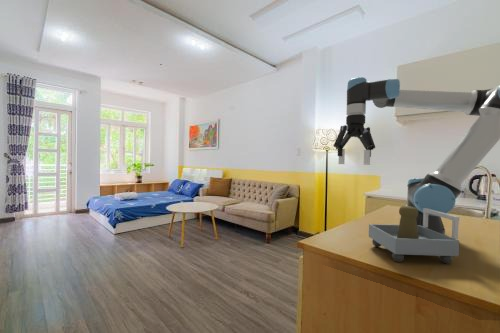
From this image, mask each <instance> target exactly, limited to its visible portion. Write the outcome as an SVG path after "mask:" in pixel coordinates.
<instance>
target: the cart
mask: <svg viewBox="0 0 500 333" xmlns="http://www.w3.org/2000/svg"><path fill="white" fill-rule="evenodd" d="M428 213H430V214H433V215H436V216H440V217H441V218H442V219H443V218H444V219H447V220H450V221H451V222H452V223H451V236H448V235H446V234H445V235H443V234H441V233H438V232H436V231H433V230H431V229H428V228H425V227H428ZM459 223H460V216H457V215H454V214H449V213H447V214H446V213H442V212H439V211H435V210H431V209H428V208H423V226H420V225H417V229H418V237H419V239H407V238H397V235H398V229H399V224H384V223H383V224H382V223H381V224H379V223H378V224H377V223H368V237H369V238H370V239H371V243H372V245H373V246H374V247H375V248H376V247H377V248H378V247H379V248H380V247H381V246H382V247H384V248H385V249H387V250H388V251H389V252H391V257H392V260H394V261H395V262H398V263H400V262H403V261H404V258H405V255H407V256H408V255H409V256H410V255H411V256H437V257H439V260H440V261H441V262H442V263H443V264H450V263H452V262H453V257H459V255H460V240H459V225H460V224H459Z"/></svg>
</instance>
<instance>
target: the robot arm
mask: <svg viewBox="0 0 500 333" xmlns="http://www.w3.org/2000/svg"><path fill="white" fill-rule="evenodd" d="M400 86H401V81H400V79H399V78H388V79H382V80H377V81H367V78H366V77H362V76H361V77H360V76H357V77H354V78H351V79H350V80H348V82H347V90H346V115H347V116H346V117H345V119H346V121H345V123H346V124H345V125H340V130H339V133H338V135H337V136H336V139H335V141H334V144H333V147H334V148H335V149H337V157H338V165H345V158H346V157H345V154H346V149H345V148H344V147H345V146H346V145H347V144H348V143H349V140H350V139H351V138H357V139H358V140H360V142H361V144H362V145H363V147H364V150H363V165H365V166H369V165H371V157H372V150H374V149H376V146H375V143H374V139H373V137H372V134H371V127H370V126H368V127H364V126H365V124H366V108H367V106H366V105H367V103H366V102H367V101H372V103H373V105H374V106H375V107H377V108H379V109H384V108H386V107H387V108H388V107H389V108H403V109H416V110H419V109H420V110H431V111H433V110H434V111H446V112H459V113H464V114H465V115H466V116H476V117H477V116H478V118H477V119H476V120H475V122H474V123H473V124H472V125H471V126H470V127H469V129H468V130H467V131H466V133H465V134H464V135H463V137H462V138H461V139H460V140H459V141H458V143H457V144H456V145H455V147H454V148H453V149H452V150H451V151H450V152H449V154H448V155H447V157H445V159H444V160H443V161H442V163H441V164H440V165H439V166H438V168H436V170H435V171H433V172H429V173H427V174H426V175H425V177H423V178H421V177H418V178H417V177H416V178H413V177H412V178H410V179H408V181H407V199H406V200H407V201H406V202H407V203H406V206H411V207H415V208H417V210H418V216H417V217H416V221H417V225H420V226H423V208H428V209H431V210H435V211H439V212H442V213H446V214H449V213H450V212H452V210H453V209H454V208H455V205H456V200H457V198H458V197H459V196H460V195H461V193H462V192H463V187H462V185H463V183H464V182H465V181H466V180H467V179H468V178H469V176H470V174H471V173H473V171H474V170H475V169H476V168H477V167H478V165H479V164H480V163H481V162H482V161H483V160H484V159H485V157H486V156H487V155H488V154H489V152H490V151H491V150H492V149H493V148H494V147H495V146H496V145H497V143H498V142H500V84H498V85H496V86H495V87H491V88H489V89H474V90H471V91H470V92H468V91H467V92H465V91H464V92H463V91H444V90H443V91H442V90H441V91H440V90H420V89H419V90H415V89H414V90H413V89H412V90H411V89H400V88H401V87H400ZM425 228H428V229H431V230H433V231H436V232H438V233H441V234H443V235H446V229H445V226H444V222H443V220H442V217H440V216H436V215H433V214H430V213H428V227H425Z"/></svg>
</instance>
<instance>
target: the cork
mask: <svg viewBox="0 0 500 333" xmlns="http://www.w3.org/2000/svg"><path fill="white" fill-rule="evenodd" d="M398 214H399V215H400V219H399V224H398V225H399V229H398V235H397V238H407V239H419V237H418V229H417V221H416V217H417V216H418V210H417V208H415V207H411V206H407V205H405V206H404V205H403V206H400V207H399V209H398Z"/></svg>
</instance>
